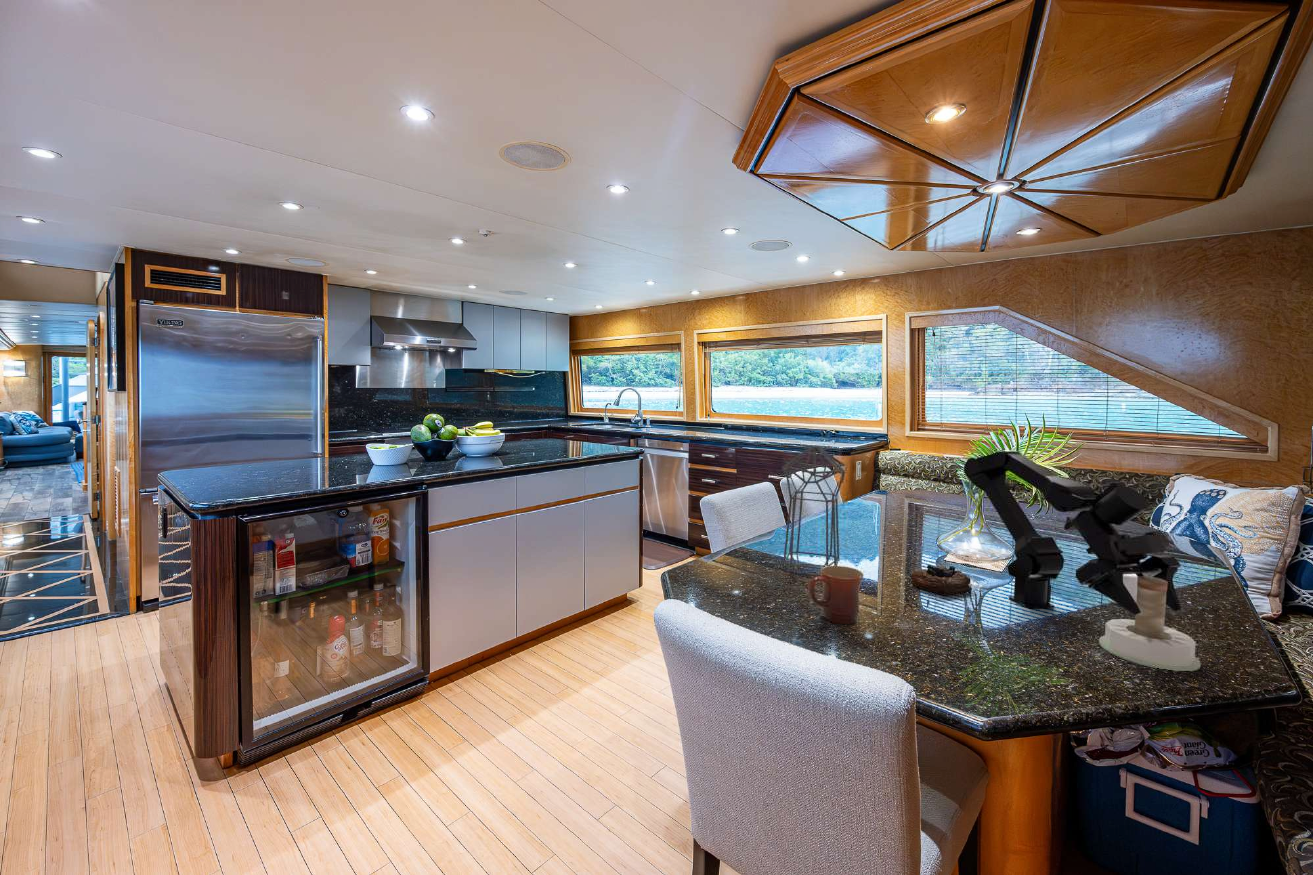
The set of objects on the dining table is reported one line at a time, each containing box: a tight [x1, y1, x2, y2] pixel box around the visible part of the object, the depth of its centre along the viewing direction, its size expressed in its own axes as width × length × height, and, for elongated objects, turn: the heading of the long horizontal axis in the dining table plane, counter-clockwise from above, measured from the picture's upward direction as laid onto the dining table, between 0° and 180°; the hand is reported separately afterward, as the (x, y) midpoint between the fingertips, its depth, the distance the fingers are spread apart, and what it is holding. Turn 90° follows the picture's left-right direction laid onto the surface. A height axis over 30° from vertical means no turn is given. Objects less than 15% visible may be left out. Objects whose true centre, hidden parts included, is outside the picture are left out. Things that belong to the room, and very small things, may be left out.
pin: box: [1134, 576, 1168, 640], centre depth 101 cm, size 4×4×14 cm
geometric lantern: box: [781, 445, 847, 584], centre depth 141 cm, size 16×16×35 cm
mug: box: [807, 565, 864, 625], centre depth 115 cm, size 12×9×10 cm
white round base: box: [1098, 618, 1201, 672], centre depth 101 cm, size 14×14×4 cm
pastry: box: [910, 564, 972, 597], centre depth 136 cm, size 11×12×6 cm
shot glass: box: [1107, 574, 1138, 605], centre depth 127 cm, size 7×7×7 cm
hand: (1158, 611), depth 99 cm, fingers open, 9 cm apart
